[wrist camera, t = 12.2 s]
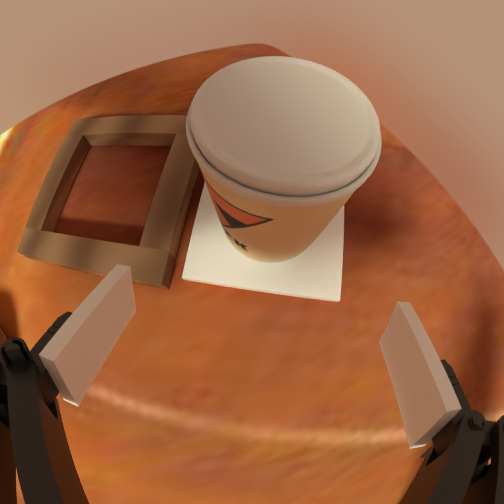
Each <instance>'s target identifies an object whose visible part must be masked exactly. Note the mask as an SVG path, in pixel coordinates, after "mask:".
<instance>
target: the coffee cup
mask: <svg viewBox="0 0 504 504" xmlns="http://www.w3.org/2000/svg"><path fill="white" fill-rule="evenodd" d="M186 133H187V139H188V143H189V146H190V148H191V151H192V153H193V155H194V157H195V159H196V160H197V162H198V164H199V166H200V169H201V172H202V175H203V177H204V180H205V183H206V186H207V188H208V191H209V194H210V196H211V199H212V202H213V204H214V207H215V209H216V212H217V215H218V217H219V220H220V222H221V225H222V227H223V230H224V232H225V234H226V236H227V238H228V240H229V241H230V242H231V244H232V245H233V246H234V247H235V248H236V249H237V250H238V251H239V252H240V253H242V254H243V255H245V256H246V257H248V258H250V259H253V260H256V261H259V262H265V263H278V262H284V261H287V260H290V259H292V258H295V257H297V256H298V255H300V254H301V253H303V252H304V251H305V250H306V249H307V248H308V247H309V246H310V245H311V244H312V243H313V242H314V241H315V239H316V238H317V237H318V236H319V235H320V234H321V232H322V231H323V230H324V229H325V228H326V226H327V225H328V224H329V223H330V222H331V220H332V219H333V218H334V217H335V215H336V214H337V213H338V212H339V211H340V209H341V208H342V207H343V206H344V204H345V203H346V202H347V201H348V199H349V198H350V197H351V195H352V194H353V193H354V191H355V190H356V189H357V188H359V187H360V186H361V185H362V184H363V183H364V182H365V181H366V180H367V179H368V177H369V176H370V175H371V173H372V172H373V170H374V169H375V167H376V165H377V162H378V160H379V156H380V153H381V133H380V124H379V120H378V116H377V114H376V111H375V110H374V108H373V106H372V104H371V102H370V101H369V100H368V98H367V97H366V96H365V94H364V93H363V92H362V91H361V90H360V89H359V88H358V87H357V86H356V85H355V84H354V83H352V82H351V81H350V80H348V79H347V78H346V77H344V76H342V75H341V74H339V73H338V72H336V71H334V70H332V69H330V68H328V67H325V66H323V65H320V64H318V63H315V62H311V61H308V60H303V59H298V58H293V57H283V56H266V57H256V58H251V59H246V60H242V61H239V62H236V63H233V64H231V65H228V66H226V67H224V68H222V69H220V70H219V71H217V72H216V73H214V74H213V75H212V76H210V77H209V78H208V79H207V80H206V81H205V82H204V83H203V84H202V85H201V87H200V88H199V89H198V91H197V92H196V94H195V96H194V98H193V101H192V103H191V105H190V108H189V110H188V114H187V119H186Z"/></svg>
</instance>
